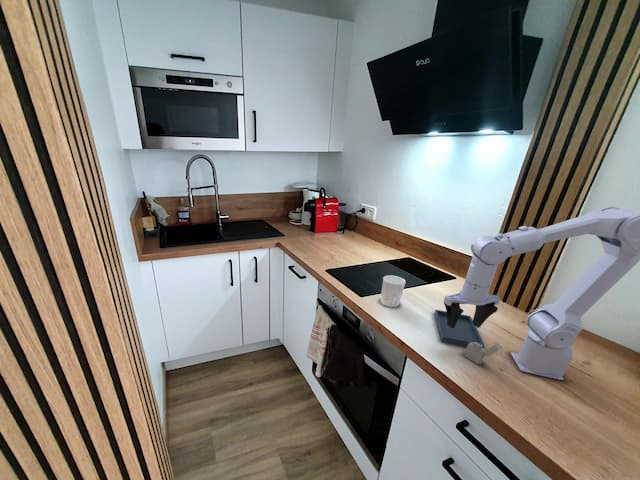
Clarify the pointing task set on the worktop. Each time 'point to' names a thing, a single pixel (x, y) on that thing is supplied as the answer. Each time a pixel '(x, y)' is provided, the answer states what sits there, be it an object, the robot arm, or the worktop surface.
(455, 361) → the worktop surface
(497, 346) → the lighter
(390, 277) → the white cup
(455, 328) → the tray
